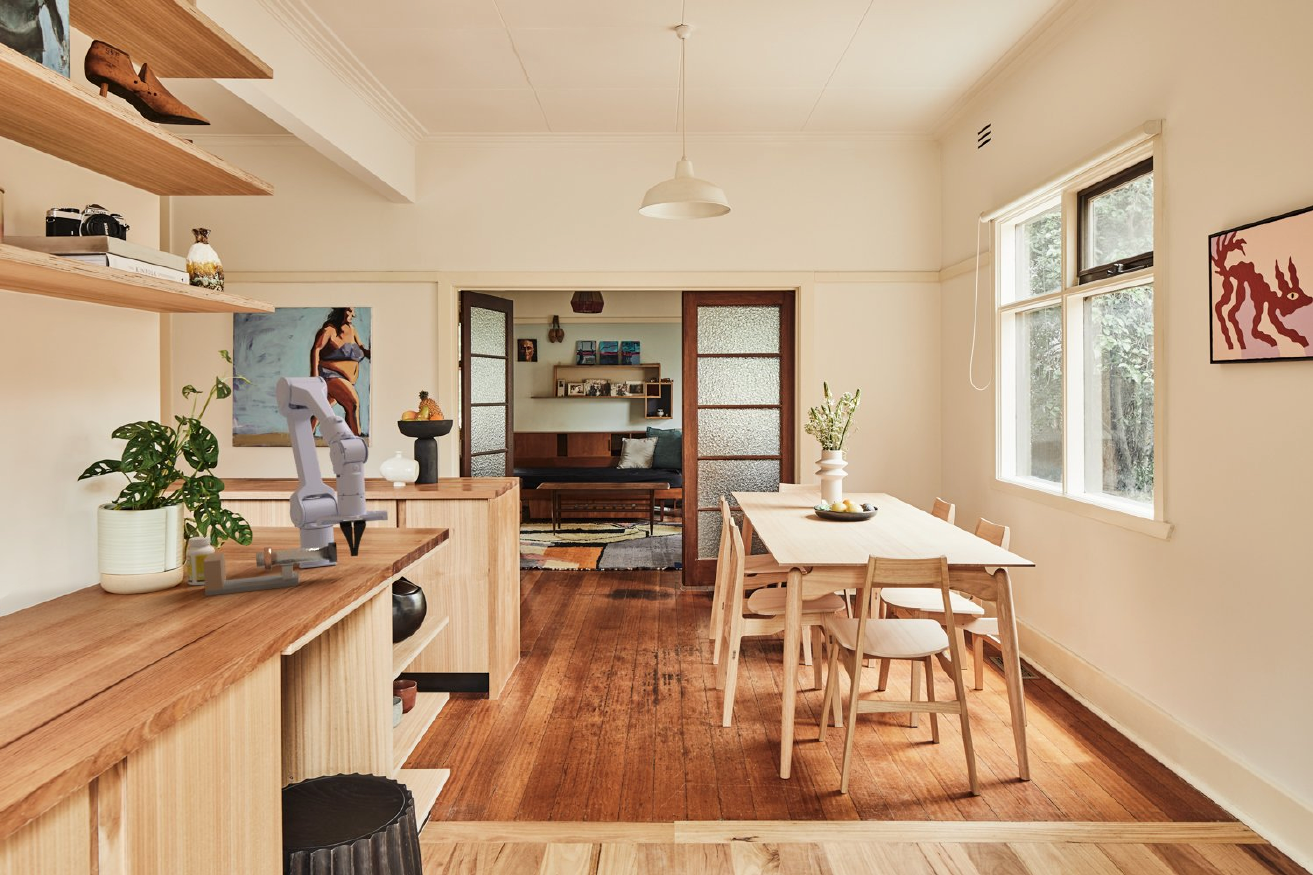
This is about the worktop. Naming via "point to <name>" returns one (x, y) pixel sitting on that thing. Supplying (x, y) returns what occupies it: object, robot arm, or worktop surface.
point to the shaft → (296, 556)
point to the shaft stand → (220, 585)
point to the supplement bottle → (197, 559)
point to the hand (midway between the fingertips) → (354, 555)
